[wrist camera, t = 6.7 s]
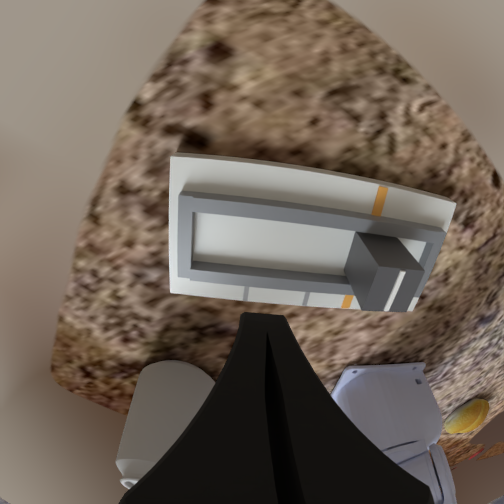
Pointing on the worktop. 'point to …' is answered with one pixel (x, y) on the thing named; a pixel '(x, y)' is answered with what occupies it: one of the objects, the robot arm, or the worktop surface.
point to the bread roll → (467, 416)
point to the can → (159, 414)
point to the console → (287, 229)
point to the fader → (382, 273)
